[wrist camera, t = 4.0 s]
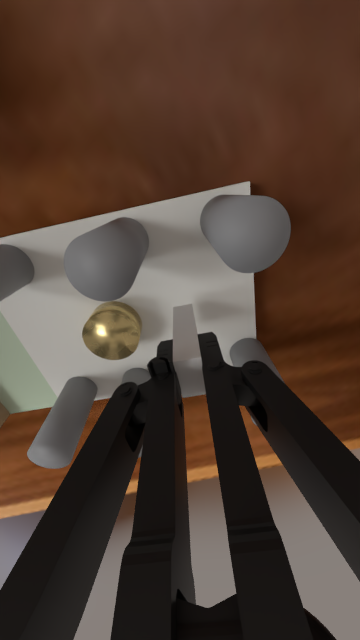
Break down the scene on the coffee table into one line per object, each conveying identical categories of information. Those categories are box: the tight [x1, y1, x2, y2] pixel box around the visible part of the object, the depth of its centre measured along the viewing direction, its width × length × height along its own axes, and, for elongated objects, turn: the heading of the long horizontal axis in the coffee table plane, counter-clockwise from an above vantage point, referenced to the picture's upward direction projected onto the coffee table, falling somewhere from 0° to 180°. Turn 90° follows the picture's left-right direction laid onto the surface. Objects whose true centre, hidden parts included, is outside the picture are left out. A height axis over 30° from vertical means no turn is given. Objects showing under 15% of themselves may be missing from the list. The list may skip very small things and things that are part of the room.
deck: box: [0, 181, 291, 468], centre depth 17 cm, size 29×17×8 cm, turn 101°
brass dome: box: [82, 301, 142, 360], centre depth 19 cm, size 4×4×2 cm
